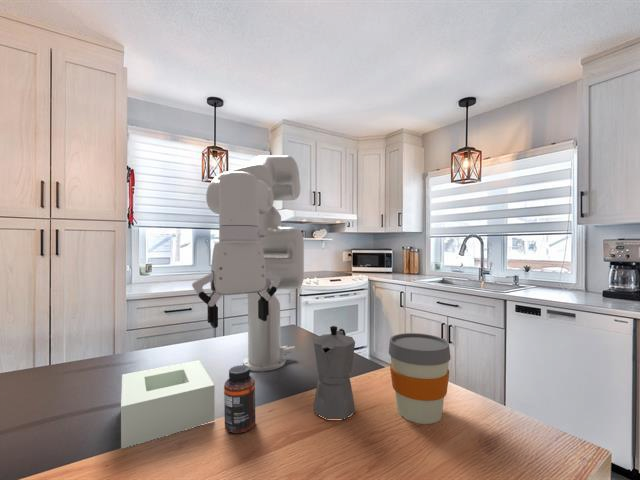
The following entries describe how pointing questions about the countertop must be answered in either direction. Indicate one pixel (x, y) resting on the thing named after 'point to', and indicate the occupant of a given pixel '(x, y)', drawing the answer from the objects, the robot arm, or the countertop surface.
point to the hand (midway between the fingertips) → (239, 322)
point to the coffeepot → (334, 374)
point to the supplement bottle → (239, 400)
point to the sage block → (165, 401)
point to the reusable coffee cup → (419, 375)
